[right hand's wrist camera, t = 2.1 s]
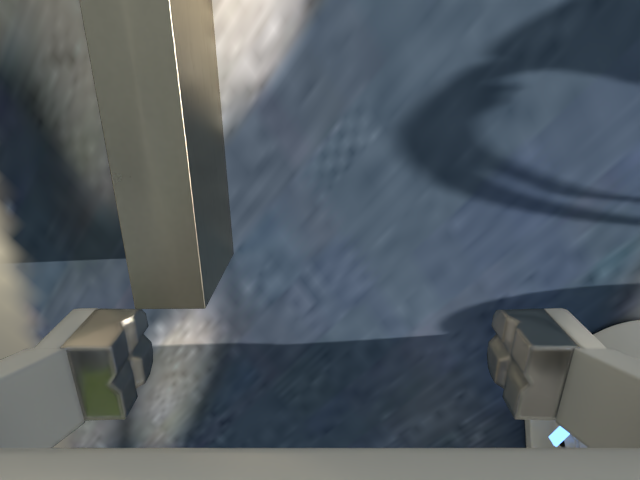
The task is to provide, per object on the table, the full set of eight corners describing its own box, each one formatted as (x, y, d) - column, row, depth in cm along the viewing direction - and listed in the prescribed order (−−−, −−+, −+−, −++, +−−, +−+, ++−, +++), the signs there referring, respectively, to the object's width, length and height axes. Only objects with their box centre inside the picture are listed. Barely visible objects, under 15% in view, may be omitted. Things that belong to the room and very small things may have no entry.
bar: (233, 254, 35) (205, 308, 27) (179, 254, 35) (134, 309, 27) (196, -172, 26) (135, -293, 17) (123, -170, 26) (25, -290, 17)
